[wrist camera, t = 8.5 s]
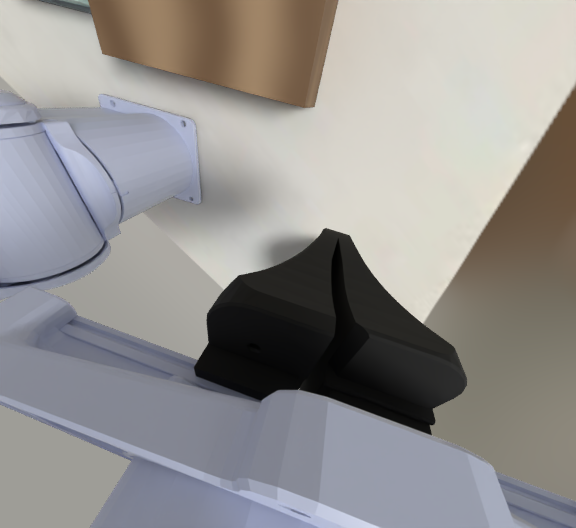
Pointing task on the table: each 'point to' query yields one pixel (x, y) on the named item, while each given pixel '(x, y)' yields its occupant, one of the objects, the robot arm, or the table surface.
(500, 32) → the table surface
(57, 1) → the mat
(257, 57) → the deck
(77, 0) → the mint green flat block
